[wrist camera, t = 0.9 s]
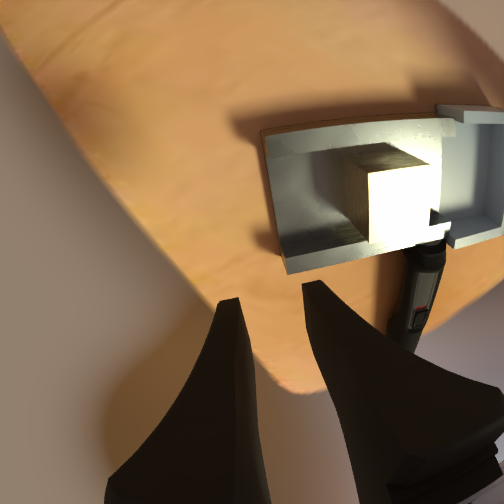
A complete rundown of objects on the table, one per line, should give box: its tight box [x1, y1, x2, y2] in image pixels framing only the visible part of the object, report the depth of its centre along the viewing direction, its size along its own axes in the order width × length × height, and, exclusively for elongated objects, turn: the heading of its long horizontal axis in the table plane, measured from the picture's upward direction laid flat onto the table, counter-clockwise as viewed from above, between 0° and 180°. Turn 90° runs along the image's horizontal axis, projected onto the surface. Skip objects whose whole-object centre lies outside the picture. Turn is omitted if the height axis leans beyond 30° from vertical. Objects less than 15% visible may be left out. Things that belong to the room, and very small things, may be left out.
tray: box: [436, 104, 504, 249], centre depth 18 cm, size 6×10×3 cm, turn 11°
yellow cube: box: [343, 150, 432, 244], centre depth 17 cm, size 4×4×4 cm
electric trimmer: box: [386, 238, 446, 354], centre depth 23 cm, size 4×16×3 cm, turn 6°
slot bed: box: [260, 113, 456, 275], centre depth 18 cm, size 12×8×2 cm
